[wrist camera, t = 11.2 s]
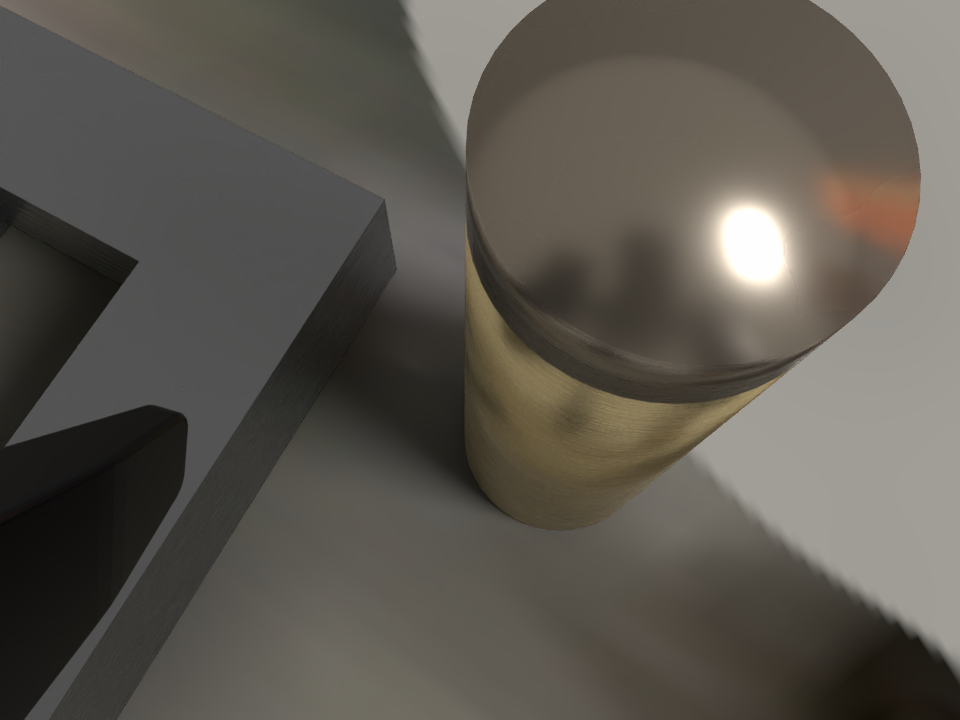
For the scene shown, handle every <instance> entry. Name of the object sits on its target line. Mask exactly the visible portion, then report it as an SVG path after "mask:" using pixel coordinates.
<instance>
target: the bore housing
mask: <svg viewBox="0 0 960 720" xmlns="http://www.w3.org/2000/svg"><path fill="white" fill-rule="evenodd" d="M9 225H12V226H14V227H16V228H18V229H20V230H21V231H23V232H25V233H27V234H29V235H31V236H32V237H34V238H36V239H38V240H40V241H42V242H44V243H45V244H47V245H49V246H51V247H53V248H55V249H56V250H58V251H60V252H62V253H64V254H66V255H68V256H69V257H71V258H73V259H75V260H77V261H79V262H80V263H82V264H84V265H86V266H88V267H90V268H92V269H93V270H95V271H97V272H99V273H101V274H103V275H104V276H106V277H108V278H110V279H112V280H114V281H116V282H117V283H119V284H121V285H122V286H121V287H120V289H119V290H118V292H117V293H116V294H115V296H114V297H113V298H112V300H111V301H110V303H109V304H108V305H107V307H106V308H105V309H104V311H103V312H102V314H101V315H100V316H99V318H98V319H97V320H96V322H95V323H94V325H93V326H92V327H91V329H90V330H89V331H88V333H87V334H86V336H85V337H84V338H83V340H82V341H81V342H80V344H79V345H78V347H77V348H76V349H75V351H74V352H73V353H72V355H71V356H70V358H69V359H68V360H67V362H66V363H65V364H64V366H63V367H62V369H61V370H60V371H59V373H58V374H57V375H56V377H55V378H54V380H53V381H52V382H51V384H50V385H49V386H48V388H47V389H46V391H45V392H44V393H43V395H42V396H41V398H40V399H39V400H38V402H37V403H36V404H35V406H34V407H33V409H32V410H31V411H30V413H29V414H28V415H27V417H26V418H25V420H24V421H23V422H22V424H21V425H20V426H19V428H18V429H17V431H16V432H15V433H14V435H13V436H12V437H11V439H10V440H9V442H8V443H7V444H6V446H9V445H13V444H16V443H19V442H23V441H26V440H30V439H33V438H36V437H40V436H43V435H47V434H50V433H53V432H57V431H60V430H64V429H67V428H70V427H74V426H77V425H80V424H84V423H87V422H91V421H94V420H97V419H101V418H104V417H108V416H111V415H114V414H118V413H121V412H125V411H128V410H131V409H135V408H138V407H142V406H145V405H157V406H160V407H164V408H167V409H170V410H174V411H177V412H180V413H182V414H184V416H185V417H186V418H187V422H188V436H187V450H186V463H185V475H184V480H183V484H182V487H181V490H180V492H179V494H178V496H177V498H176V500H175V501H174V503H173V505H172V506H171V508H170V510H169V511H168V513H167V515H166V516H165V518H164V519H163V521H162V523H161V524H160V526H159V528H158V529H157V531H156V533H155V534H154V536H153V538H152V539H151V541H150V543H149V544H148V546H147V548H146V549H145V551H144V553H143V554H142V556H141V558H140V559H139V561H138V563H137V564H136V566H135V568H134V569H133V571H132V573H131V574H130V576H129V578H128V579H127V581H126V583H125V584H124V586H123V588H122V589H121V591H120V592H119V594H118V596H117V597H116V599H115V600H114V602H113V603H112V605H111V607H110V608H109V609H108V611H107V612H106V613H105V615H104V616H103V618H102V619H101V620H100V622H99V623H98V624H97V626H96V627H95V628H94V630H93V631H92V632H91V634H90V635H89V636H88V637H87V639H86V640H85V641H84V643H83V644H82V645H81V647H80V648H79V649H78V651H77V652H76V653H75V654H74V656H73V657H72V658H71V660H70V661H69V662H68V664H67V665H66V666H65V667H64V669H63V670H62V671H61V673H60V674H59V675H58V677H57V678H56V679H55V680H54V682H53V683H52V684H51V686H50V687H49V688H48V690H47V691H46V692H45V694H44V695H43V696H42V697H41V699H40V700H39V701H38V703H37V704H36V705H35V707H34V708H33V709H32V710H31V712H30V713H29V714H28V716H27V717H26V718H25V720H116V719H117V717H118V716H119V714H120V713H121V711H122V709H123V708H124V706H125V705H126V703H127V701H128V700H129V698H130V697H131V695H132V693H133V692H134V690H135V689H136V687H137V685H138V684H139V682H140V681H141V679H142V677H143V676H144V674H145V672H146V671H147V669H148V668H149V666H150V664H151V663H152V661H153V660H154V658H155V656H156V655H157V653H158V652H159V650H160V648H161V647H162V645H163V644H164V642H165V640H166V639H167V637H168V636H169V634H170V632H171V631H172V629H173V628H174V626H175V624H176V623H177V621H178V619H179V618H180V616H181V615H182V613H183V611H184V610H185V608H186V607H187V605H188V603H189V602H190V600H191V599H192V597H193V595H194V594H195V592H196V591H197V589H198V587H199V586H200V584H201V583H202V581H203V579H204V578H205V576H206V574H207V573H208V571H209V570H210V568H211V566H212V565H213V563H214V562H215V560H216V558H217V557H218V555H219V554H220V552H221V550H222V549H223V547H224V546H225V544H226V542H227V541H228V539H229V538H230V536H231V534H232V533H233V531H234V530H235V528H236V526H237V525H238V523H239V521H240V520H241V518H242V517H243V515H244V513H245V512H246V510H247V509H248V507H249V505H250V504H251V502H252V501H253V499H254V497H255V496H256V494H257V493H258V491H259V489H260V488H261V486H262V485H263V483H264V481H265V480H266V478H267V477H268V475H269V473H270V472H271V470H272V468H273V467H274V465H275V464H276V462H277V460H278V459H279V457H280V456H281V454H282V452H283V451H284V449H285V448H286V446H287V444H288V443H289V441H290V440H291V438H292V436H293V435H294V433H295V432H296V430H297V428H298V427H299V425H300V424H301V422H302V420H303V419H304V417H305V415H306V414H307V412H308V411H309V409H310V407H311V406H312V404H313V403H314V401H315V399H316V398H317V396H318V395H319V393H320V391H321V390H322V388H323V387H324V385H325V383H326V382H327V380H328V379H329V377H330V375H331V374H332V372H333V371H334V369H335V367H336V366H337V364H338V362H339V361H340V359H341V358H342V356H343V354H344V353H345V351H346V350H347V348H348V346H349V345H350V343H351V342H352V340H353V338H354V337H355V335H356V334H357V332H358V330H359V329H360V327H361V326H362V324H363V322H364V321H365V319H366V318H367V316H368V314H369V313H370V311H371V309H372V308H373V306H374V305H375V303H376V301H377V300H378V298H379V297H380V295H381V293H382V292H383V290H384V289H385V287H386V285H387V284H388V282H389V281H390V279H391V277H392V276H393V274H394V273H395V271H396V269H397V268H396V262H395V256H394V250H393V245H392V239H391V233H390V227H389V222H388V216H387V210H386V204H385V199H383V198H381V197H379V196H377V195H375V194H374V193H372V192H370V191H368V190H366V189H364V188H362V187H360V186H358V185H356V184H354V183H352V182H350V181H348V180H346V179H344V178H342V177H340V176H338V175H336V174H334V173H332V172H330V171H328V170H326V169H324V168H322V167H320V166H318V165H316V164H314V163H312V162H310V161H308V160H306V159H304V158H302V157H300V156H298V155H296V154H294V153H292V152H290V151H288V150H286V149H284V148H282V147H280V146H278V145H276V144H274V143H272V142H270V141H268V140H266V139H264V138H262V137H260V136H258V135H256V134H254V133H252V132H250V131H248V130H246V129H244V128H242V127H240V126H238V125H236V124H234V123H232V122H230V121H228V120H226V119H224V118H222V117H220V116H218V115H216V114H214V113H212V112H210V111H208V110H206V109H204V108H202V107H201V106H199V105H197V104H195V103H193V102H191V101H189V100H187V99H185V98H183V97H181V96H179V95H177V94H175V93H173V92H171V91H169V90H167V89H165V88H163V87H161V86H159V85H157V84H155V83H153V82H151V81H149V80H147V79H145V78H143V77H141V76H139V75H137V74H135V73H133V72H131V71H129V70H127V69H125V68H123V67H121V66H119V65H117V64H115V63H113V62H111V61H109V60H107V59H105V58H103V57H101V56H99V55H97V54H95V53H93V52H91V51H89V50H87V49H85V48H83V47H81V46H79V45H77V44H75V43H73V42H71V41H69V40H67V39H65V38H63V37H61V36H59V35H57V34H55V33H53V32H51V31H49V30H47V29H45V28H43V27H41V26H39V25H37V24H35V23H33V22H31V21H29V20H28V19H26V18H24V17H22V16H20V15H18V14H16V13H14V12H12V11H10V10H8V9H6V8H4V7H2V6H0V237H1V236H2V234H3V233H4V232H5V230H6V229H7V228H8V227H9ZM6 446H5V447H6Z"/></svg>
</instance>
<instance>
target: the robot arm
mask: <svg viewBox="0 0 960 720" xmlns="http://www.w3.org/2000/svg"><path fill="white" fill-rule="evenodd" d="M187 436H188V422H187V418H186V417H185V416H184V414H182V413H180V412H177V411H174V410H170V409H167V408H164V407H160V406H157V405H145V406H142V407H138V408H135V409H131V410H128V411H125V412H121V413H118V414H114V415H111V416H108V417H104V418H101V419H97V420H94V421H91V422H87V423H84V424H80V425H77V426H74V427H70V428H67V429H64V430H60V431H57V432H53V433H50V434H47V435H43V436H40V437H36V438H33V439H30V440H26V441H23V442H19V443H16V444H13V445H9V446H6V447H2V448H0V720H25V718H26V717H27V716H28V714H29V713H30V712H31V710H32V709H33V708H34V707H35V705H36V704H37V703H38V701H39V700H40V699H41V697H42V696H43V695H44V694H45V692H46V691H47V690H48V688H49V687H50V686H51V684H52V683H53V682H54V680H55V679H56V678H57V677H58V675H59V674H60V673H61V671H62V670H63V669H64V667H65V666H66V665H67V664H68V662H69V661H70V660H71V658H72V657H73V656H74V654H75V653H76V652H77V651H78V649H79V648H80V647H81V645H82V644H83V643H84V641H85V640H86V639H87V637H88V636H89V635H90V634H91V632H92V631H93V630H94V628H95V627H96V626H97V624H98V623H99V622H100V620H101V619H102V618H103V616H104V615H105V613H106V612H107V611H108V609H109V608H110V607H111V605H112V603H113V602H114V600H115V599H116V597H117V596H118V594H119V592H120V591H121V589H122V588H123V586H124V584H125V583H126V581H127V579H128V578H129V576H130V574H131V573H132V571H133V569H134V568H135V566H136V564H137V563H138V561H139V559H140V558H141V556H142V554H143V553H144V551H145V549H146V548H147V546H148V544H149V543H150V541H151V539H152V538H153V536H154V534H155V533H156V531H157V529H158V528H159V526H160V524H161V523H162V521H163V519H164V518H165V516H166V515H167V513H168V511H169V510H170V508H171V506H172V505H173V503H174V501H175V500H176V498H177V496H178V494H179V492H180V490H181V487H182V484H183V480H184V475H185V463H186V450H187Z"/></svg>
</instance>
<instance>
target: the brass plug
mask: <svg viewBox="0 0 960 720" xmlns="http://www.w3.org/2000/svg"><path fill="white" fill-rule="evenodd" d="M920 181H921V173H920V163H919V155H918V147H917V143H916V139H915V135H914V132H913V128H912V124H911V121H910V119H909V116H908V114H907V111H906V109H905V106H904V104H903V101H902V99H901V97H900V95H899V94H898V92H897V90H896V88H895V86H894V85H893V83H892V81H891V79H890V78H889V76H888V74H887V73H886V72H885V70H884V69H883V68H882V66H881V65H880V64H879V62H878V61H877V59H876V58H875V57H874V56H873V54H872V53H871V52H870V51H869V50H868V49H867V48H866V46H865V45H864V44H863V43H862V42H861V41H860V40H859V39H858V38H857V37H856V36H855V35H854V34H853V33H852V32H851V31H850V30H848V29H847V28H846V27H845V26H844V25H843V24H841V23H840V22H839V21H838V20H837V19H835V18H834V17H833V16H832V15H830V14H829V13H827V12H826V11H824V10H823V9H821V8H820V7H818V6H817V5H815V4H814V3H812V2H811V1H809V0H546V1H545V2H543V3H542V4H541V5H539V6H538V7H537V8H535V9H534V10H533V11H531V12H530V13H529V14H528V15H527V16H526V17H525V18H523V19H522V20H521V21H520V22H519V23H518V24H517V25H516V26H515V27H514V28H513V29H512V30H511V31H510V33H509V34H508V35H507V36H506V38H505V39H504V40H503V42H502V43H501V44H500V45H499V47H498V48H497V49H496V51H495V52H494V54H493V56H492V57H491V59H490V61H489V63H488V64H487V66H486V68H485V70H484V71H483V73H482V76H481V78H480V81H479V83H478V86H477V89H476V91H475V94H474V96H473V101H472V105H471V109H470V114H469V119H468V126H467V140H466V230H465V450H466V455H467V459H468V463H469V466H470V469H471V471H472V474H473V476H474V478H475V480H476V482H477V483H478V485H479V486H480V488H481V489H482V491H483V492H484V494H485V495H486V496H487V497H488V498H489V499H490V500H491V501H492V503H494V504H495V505H496V506H497V507H498V508H499V509H501V510H502V511H503V512H505V513H506V514H508V515H509V516H511V517H512V518H514V519H516V520H518V521H520V522H522V523H525V524H528V525H531V526H534V527H538V528H543V529H548V530H571V529H577V528H582V527H586V526H589V525H591V524H594V523H597V522H599V521H601V520H603V519H605V518H607V517H608V516H610V515H611V514H612V513H614V512H615V511H617V510H618V509H619V508H620V507H622V506H623V505H624V504H625V503H627V502H628V501H629V500H630V499H632V498H633V497H634V496H635V495H636V494H638V493H639V492H640V491H641V490H643V489H644V488H645V487H646V486H648V485H649V484H650V483H651V482H653V481H654V480H655V479H656V478H657V477H659V476H660V475H661V474H662V473H664V472H665V471H666V470H667V469H669V468H670V467H671V466H672V465H673V464H675V463H676V462H677V461H678V460H680V459H681V458H682V457H683V456H685V455H686V454H687V453H688V452H689V451H691V450H692V449H693V448H694V447H696V446H697V445H698V444H699V443H701V442H702V441H703V440H704V439H705V438H707V437H708V436H709V435H710V434H712V433H713V432H714V431H715V430H717V429H718V428H719V427H720V426H721V425H723V424H724V423H725V422H726V421H728V420H729V419H730V418H731V417H732V416H734V415H735V414H736V413H738V412H739V411H740V410H741V409H742V408H744V407H745V406H746V405H747V404H749V403H750V402H751V401H752V400H754V399H755V398H756V397H757V396H758V395H760V394H761V393H762V392H763V391H765V390H766V389H767V388H768V387H770V386H771V385H772V384H773V383H775V382H776V381H777V380H778V379H779V378H780V377H782V376H783V375H784V374H786V373H787V372H788V371H789V370H790V369H792V368H793V367H794V366H795V365H797V364H798V363H799V362H800V361H802V360H803V359H804V358H805V357H807V356H808V355H809V354H810V353H811V352H812V351H814V350H815V349H816V348H818V347H819V346H820V345H821V344H823V343H824V342H825V341H826V340H827V339H829V338H830V337H831V336H832V335H834V334H835V333H836V332H837V331H838V330H840V329H841V328H842V327H843V326H845V325H846V324H847V323H848V322H850V321H851V320H852V319H853V318H855V316H857V315H858V314H859V313H860V312H861V311H862V310H863V309H864V308H865V307H866V306H867V305H868V304H869V303H870V302H872V301H873V300H874V299H875V298H876V297H877V295H878V294H879V293H880V291H881V290H882V289H883V287H884V286H885V285H886V284H887V282H888V281H889V280H890V278H891V277H892V276H893V274H894V272H895V270H896V269H897V267H898V265H899V263H900V261H901V260H902V258H903V256H904V254H905V252H906V250H907V247H908V244H909V241H910V239H911V236H912V233H913V230H914V227H915V223H916V218H917V213H918V207H919V202H920Z"/></svg>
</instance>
